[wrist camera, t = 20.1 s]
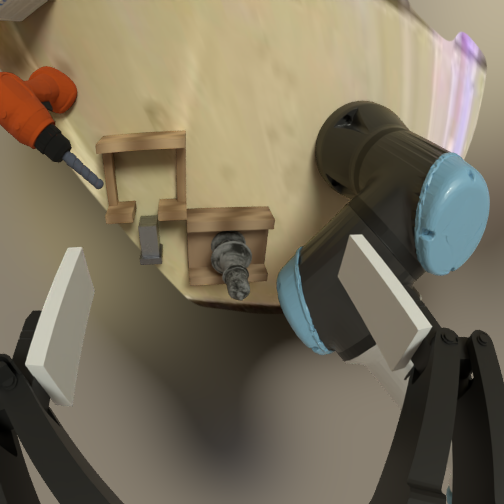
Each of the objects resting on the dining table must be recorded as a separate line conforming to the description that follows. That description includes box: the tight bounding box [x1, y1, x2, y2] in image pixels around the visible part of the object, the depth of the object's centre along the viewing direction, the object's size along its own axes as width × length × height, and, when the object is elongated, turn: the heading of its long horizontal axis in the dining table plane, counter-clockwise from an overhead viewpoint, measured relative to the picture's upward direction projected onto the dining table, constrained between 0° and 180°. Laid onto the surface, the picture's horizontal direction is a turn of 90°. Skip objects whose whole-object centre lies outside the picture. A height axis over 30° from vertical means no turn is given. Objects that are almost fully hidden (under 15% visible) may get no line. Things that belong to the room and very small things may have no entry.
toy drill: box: [0, 66, 104, 189], centre depth 26 cm, size 5×19×15 cm, turn 42°
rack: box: [186, 207, 275, 286], centre depth 47 cm, size 12×11×4 cm
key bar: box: [138, 215, 163, 265], centre depth 44 cm, size 3×6×4 cm, turn 176°
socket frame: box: [96, 131, 187, 224], centre depth 38 cm, size 11×11×4 cm
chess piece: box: [211, 230, 252, 301], centre depth 43 cm, size 6×6×12 cm
